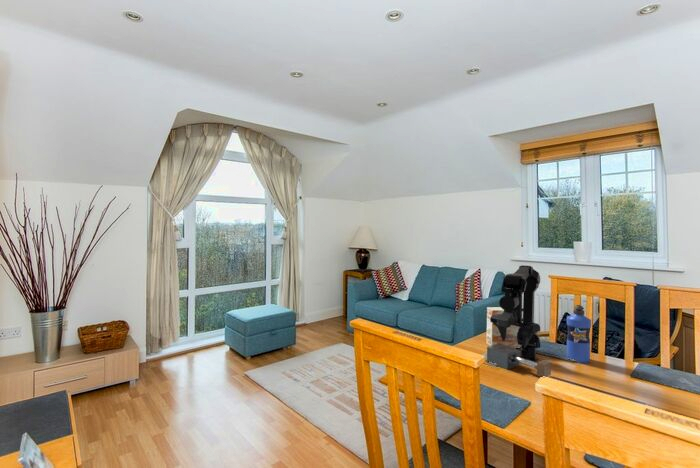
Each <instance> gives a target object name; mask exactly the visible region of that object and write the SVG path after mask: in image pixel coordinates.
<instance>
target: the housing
mask: <svg viewBox="0 0 700 468" xmlns="http://www.w3.org/2000/svg"><path fill="white" fill-rule="evenodd" d="M520 352H521V349H516V348H513V347H509V346H506V345H503V344H500V343H499V344H495V345H492V346H487V347H486V363H489V362H488V361H490V362H492V363H496V364H497V366H496V367H499V368H501V369H505V370H507V371H508V370H510V369H513V368H515V367H518V366H520V365H521V364H520V363H517V362H515V361H512V360H511V355H514V356H517V357H520V356H521V353H520Z"/></svg>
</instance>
